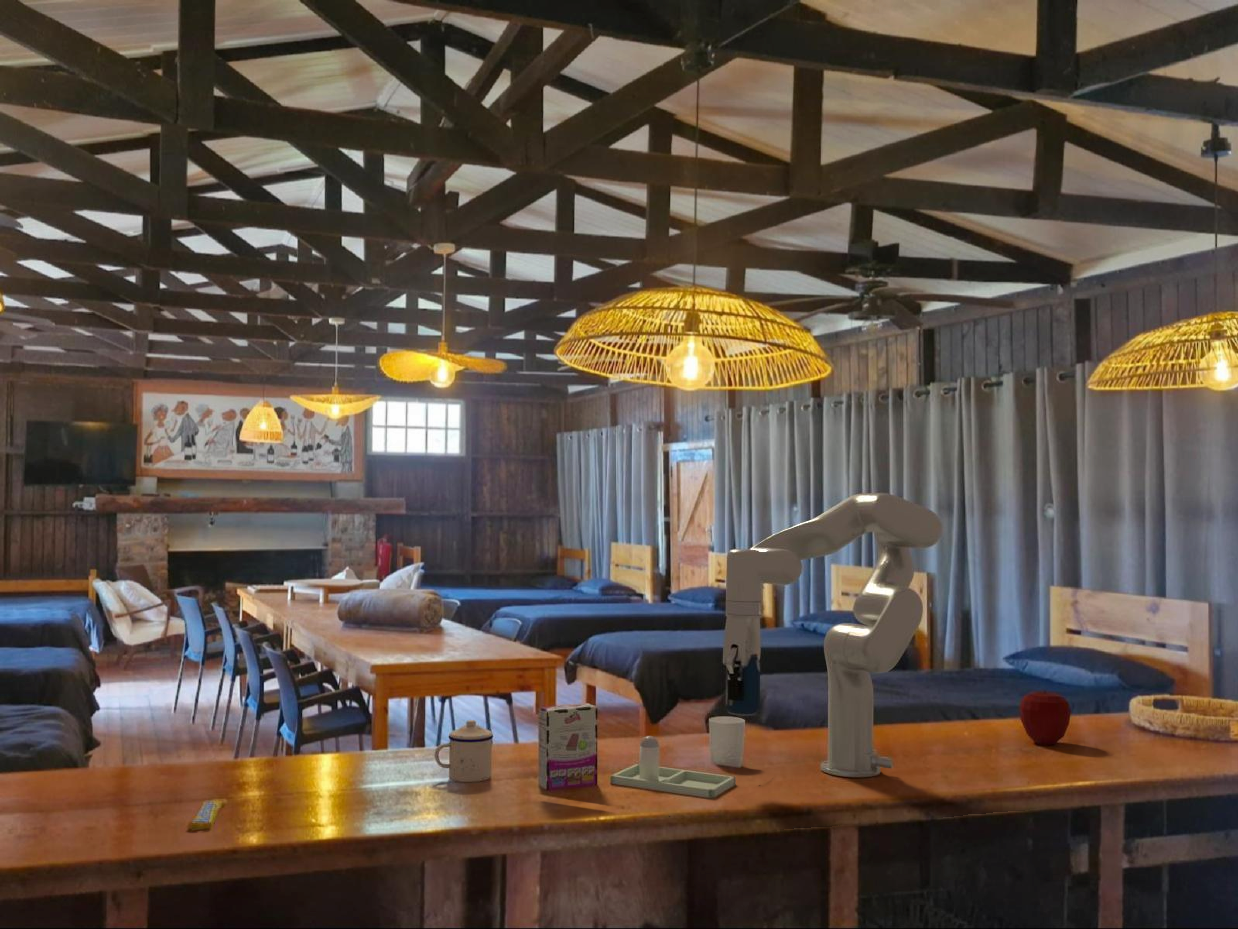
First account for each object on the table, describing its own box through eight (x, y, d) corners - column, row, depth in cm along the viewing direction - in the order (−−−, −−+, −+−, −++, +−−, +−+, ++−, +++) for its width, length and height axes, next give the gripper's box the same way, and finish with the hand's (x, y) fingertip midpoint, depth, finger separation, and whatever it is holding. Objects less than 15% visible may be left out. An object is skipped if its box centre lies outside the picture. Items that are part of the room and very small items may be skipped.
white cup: (743, 771, 230) (743, 724, 230) (706, 769, 232) (706, 722, 232) (746, 763, 238) (746, 717, 238) (710, 760, 239) (711, 715, 240)
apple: (1079, 749, 257) (1079, 693, 257) (1030, 748, 257) (1030, 692, 257) (1059, 738, 269) (1059, 685, 269) (1012, 737, 269) (1012, 684, 269)
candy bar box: (587, 783, 218) (588, 702, 218) (598, 789, 213) (599, 706, 214) (536, 789, 212) (537, 706, 213) (546, 795, 208) (547, 710, 209)
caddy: (735, 789, 215) (735, 776, 215) (712, 803, 204) (712, 790, 204) (636, 775, 225) (637, 763, 225) (610, 788, 214) (610, 775, 214)
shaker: (662, 779, 218) (662, 735, 218) (653, 784, 214) (654, 739, 214) (644, 777, 219) (644, 733, 220) (635, 781, 216) (636, 736, 216)
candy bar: (211, 833, 183) (211, 822, 183) (185, 834, 182) (185, 823, 182) (226, 806, 199) (227, 796, 199) (202, 807, 198) (203, 797, 198)
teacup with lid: (485, 771, 227) (486, 715, 228) (497, 781, 219) (498, 723, 219) (429, 775, 223) (430, 718, 223) (439, 786, 214) (440, 727, 215)
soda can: (765, 713, 219) (766, 653, 220) (750, 717, 213) (751, 657, 214) (734, 709, 223) (735, 651, 224) (719, 713, 217) (720, 654, 218)
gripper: (742, 606, 229) (740, 690, 228) (710, 611, 213) (709, 701, 212) (775, 608, 225) (774, 693, 224) (746, 613, 210) (744, 705, 209)
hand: (742, 696), depth 218 cm, fingers closed on soda can, 6 cm apart
